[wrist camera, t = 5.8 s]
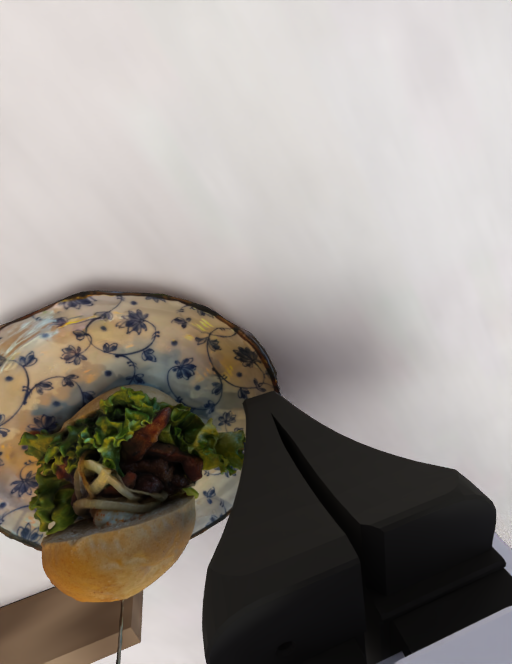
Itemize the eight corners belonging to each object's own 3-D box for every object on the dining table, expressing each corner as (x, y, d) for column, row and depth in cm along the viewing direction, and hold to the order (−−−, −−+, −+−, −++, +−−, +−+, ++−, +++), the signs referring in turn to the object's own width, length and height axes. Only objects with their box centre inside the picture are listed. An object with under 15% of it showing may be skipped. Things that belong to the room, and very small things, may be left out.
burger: (315, 337, 15) (445, 454, 8) (212, 535, 17) (244, 746, 11) (0, 217, 10) (-313, 251, 3) (-72, 508, 13) (-325, 843, 6)
